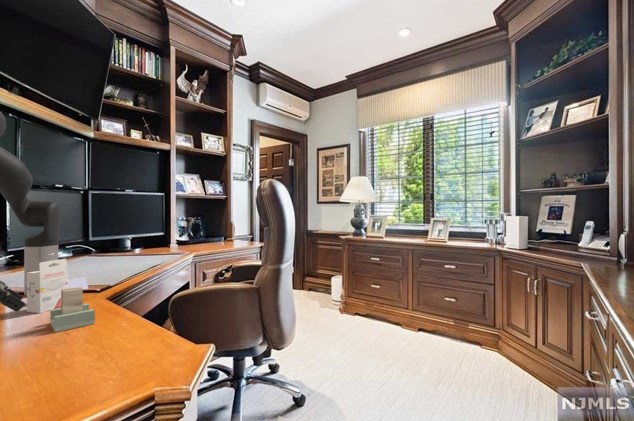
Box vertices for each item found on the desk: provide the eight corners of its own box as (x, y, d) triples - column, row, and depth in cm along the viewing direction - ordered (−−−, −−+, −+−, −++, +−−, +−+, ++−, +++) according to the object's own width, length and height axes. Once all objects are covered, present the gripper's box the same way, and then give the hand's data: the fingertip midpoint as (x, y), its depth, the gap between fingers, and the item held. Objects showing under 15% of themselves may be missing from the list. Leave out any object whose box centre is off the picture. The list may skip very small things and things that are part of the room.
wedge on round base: (83, 293, 111) (34, 301, 102) (83, 275, 112) (35, 280, 102) (88, 298, 105) (36, 306, 96) (88, 278, 105) (37, 285, 96)
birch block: (60, 319, 81) (61, 289, 81) (80, 316, 84) (80, 286, 84) (62, 323, 78) (63, 291, 78) (82, 319, 81) (82, 289, 81)
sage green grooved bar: (50, 323, 81) (50, 309, 81) (87, 315, 87) (87, 303, 87) (54, 332, 75) (54, 317, 75) (94, 323, 81) (94, 310, 81)
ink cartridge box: (55, 304, 99) (56, 257, 99) (68, 305, 98) (68, 258, 98) (25, 312, 90) (25, 262, 90) (39, 313, 89) (39, 262, 89)
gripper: (-37, 250, 63) (38, 296, 71) (-33, 245, 73) (32, 286, 81) (-79, 280, 59) (5, 325, 67) (-70, 271, 69) (3, 311, 77)
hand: (20, 304), depth 74 cm, fingers open, 8 cm apart
